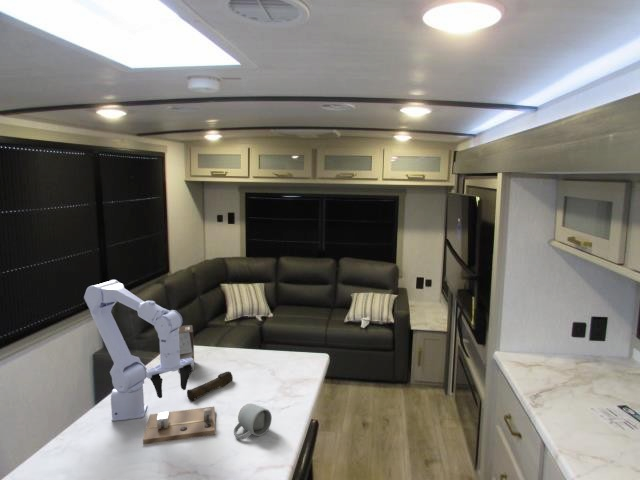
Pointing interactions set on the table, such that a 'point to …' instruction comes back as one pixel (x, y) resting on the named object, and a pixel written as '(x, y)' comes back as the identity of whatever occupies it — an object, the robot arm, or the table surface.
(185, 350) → the coffee box
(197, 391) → the hand tool
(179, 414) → the wooden board
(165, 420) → the white rectangular block
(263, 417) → the ceramic mug
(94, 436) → the table surface
